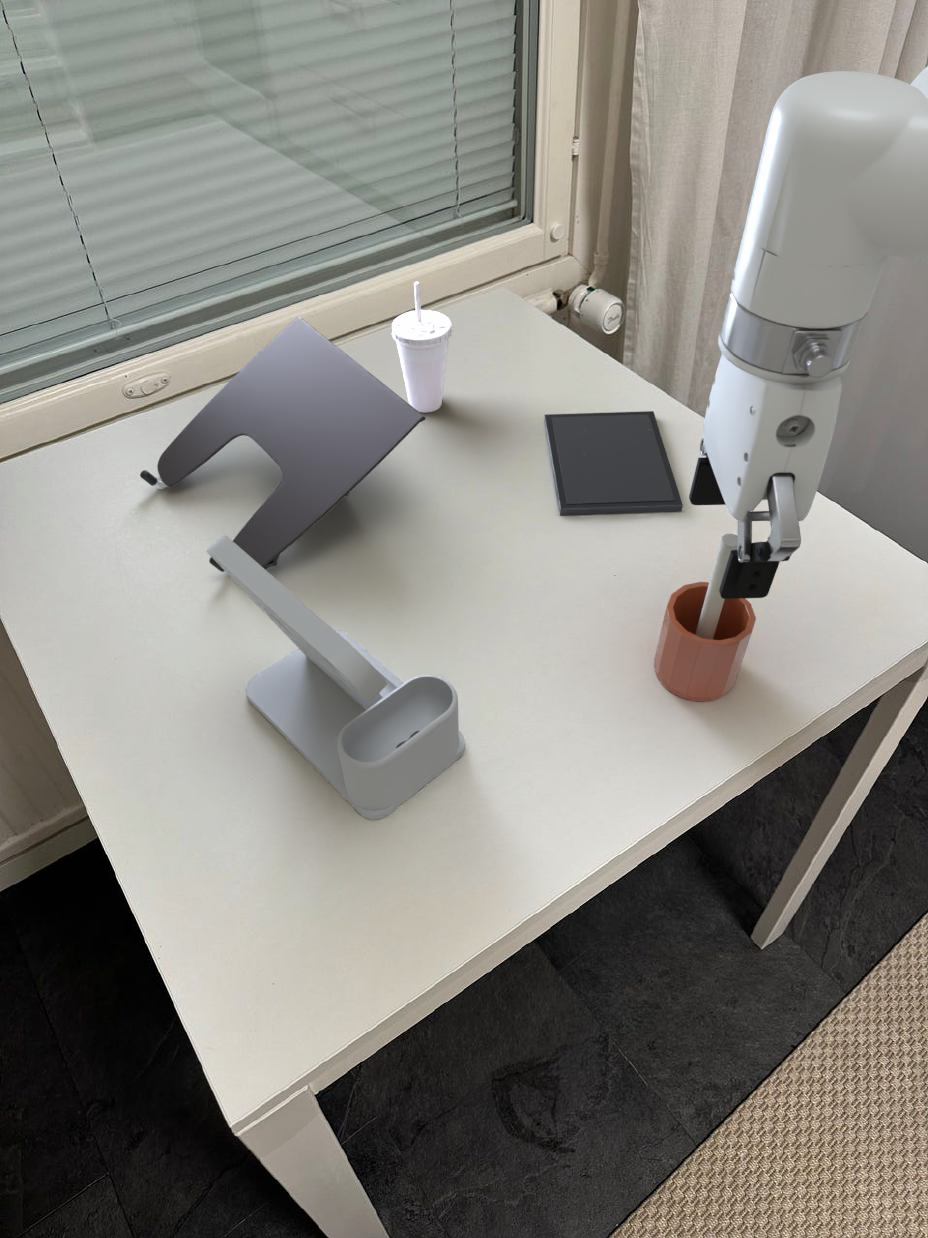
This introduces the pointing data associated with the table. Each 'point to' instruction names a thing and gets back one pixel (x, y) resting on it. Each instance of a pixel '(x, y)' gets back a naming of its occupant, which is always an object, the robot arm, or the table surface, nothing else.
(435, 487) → the table surface
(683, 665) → the pencil cup
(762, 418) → the robot arm
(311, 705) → the phone holder
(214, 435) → the laptop tray
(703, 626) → the stylus
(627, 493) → the tablet
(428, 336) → the smoothie
